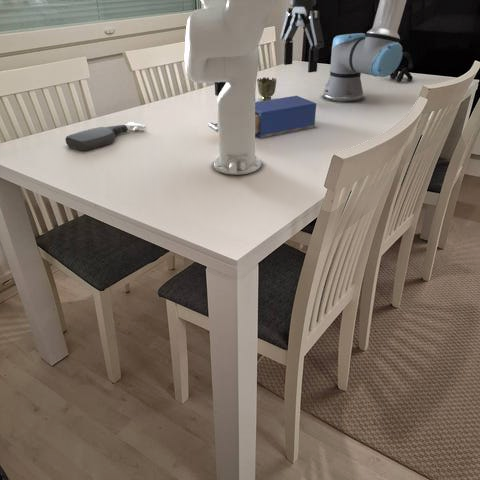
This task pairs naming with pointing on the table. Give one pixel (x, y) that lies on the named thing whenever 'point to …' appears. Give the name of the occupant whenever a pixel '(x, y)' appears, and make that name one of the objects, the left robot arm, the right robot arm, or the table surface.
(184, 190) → the table surface
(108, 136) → the spray bottle
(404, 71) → the squiggle
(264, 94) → the cup
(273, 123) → the blue box
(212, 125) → the drawer
